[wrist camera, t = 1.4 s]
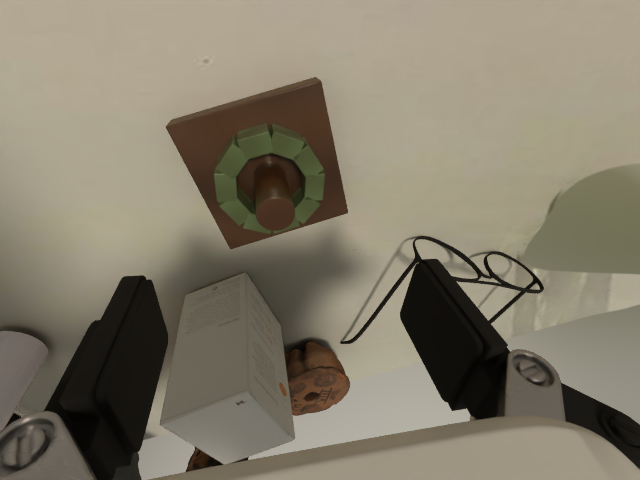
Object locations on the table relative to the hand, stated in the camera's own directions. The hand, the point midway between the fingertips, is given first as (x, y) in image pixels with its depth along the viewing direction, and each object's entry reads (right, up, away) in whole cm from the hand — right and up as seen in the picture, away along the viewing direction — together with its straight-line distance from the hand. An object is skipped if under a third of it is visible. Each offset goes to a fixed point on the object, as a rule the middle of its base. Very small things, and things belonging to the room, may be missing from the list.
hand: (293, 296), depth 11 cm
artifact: (-1, -10, +22) cm, 24 cm away
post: (-3, +7, +10) cm, 12 cm away
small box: (-7, -4, +17) cm, 19 cm away
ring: (-2, +6, +9) cm, 11 cm away
